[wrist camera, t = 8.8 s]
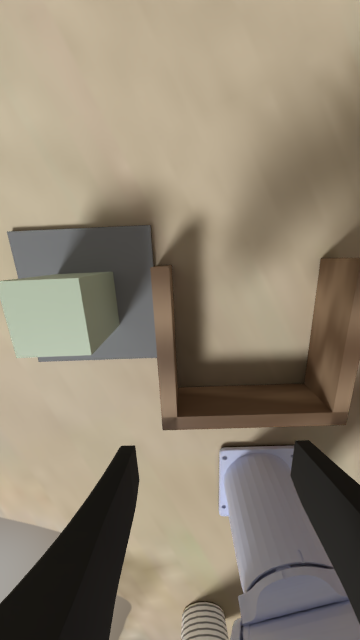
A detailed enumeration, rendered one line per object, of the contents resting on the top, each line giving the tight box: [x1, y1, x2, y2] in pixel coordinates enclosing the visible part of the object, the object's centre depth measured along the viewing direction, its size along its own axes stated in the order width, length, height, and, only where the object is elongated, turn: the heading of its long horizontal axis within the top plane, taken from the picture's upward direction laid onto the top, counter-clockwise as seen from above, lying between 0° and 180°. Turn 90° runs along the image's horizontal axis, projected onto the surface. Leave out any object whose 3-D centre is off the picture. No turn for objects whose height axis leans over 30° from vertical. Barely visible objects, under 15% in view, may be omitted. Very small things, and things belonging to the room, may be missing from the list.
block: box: [0, 272, 120, 358], centre depth 15 cm, size 4×4×6 cm
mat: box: [7, 225, 157, 362], centre depth 18 cm, size 11×11×1 cm
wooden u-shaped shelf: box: [150, 258, 360, 430], centre depth 17 cm, size 13×14×4 cm
